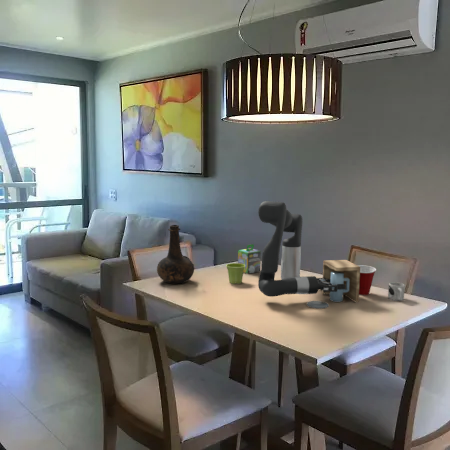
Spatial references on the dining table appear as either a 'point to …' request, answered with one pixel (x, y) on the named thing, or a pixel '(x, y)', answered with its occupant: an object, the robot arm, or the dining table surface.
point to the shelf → (349, 272)
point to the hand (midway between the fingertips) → (340, 284)
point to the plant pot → (235, 272)
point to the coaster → (317, 304)
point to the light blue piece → (338, 279)
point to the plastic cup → (366, 279)
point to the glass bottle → (175, 261)
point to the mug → (396, 291)
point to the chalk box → (250, 259)
